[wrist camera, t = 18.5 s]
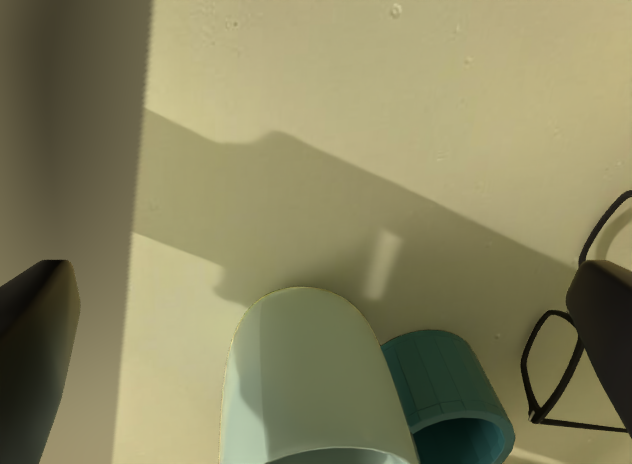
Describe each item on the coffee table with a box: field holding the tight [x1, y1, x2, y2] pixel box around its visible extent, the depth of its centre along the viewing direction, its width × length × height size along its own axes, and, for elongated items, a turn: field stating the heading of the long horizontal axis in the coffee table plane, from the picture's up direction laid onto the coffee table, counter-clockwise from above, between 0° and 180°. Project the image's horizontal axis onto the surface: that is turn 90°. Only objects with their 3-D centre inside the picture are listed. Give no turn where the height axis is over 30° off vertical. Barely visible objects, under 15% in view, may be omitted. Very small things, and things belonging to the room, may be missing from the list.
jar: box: [381, 330, 515, 464], centre depth 28 cm, size 7×7×6 cm
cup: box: [218, 286, 421, 464], centre depth 23 cm, size 8×8×10 cm
